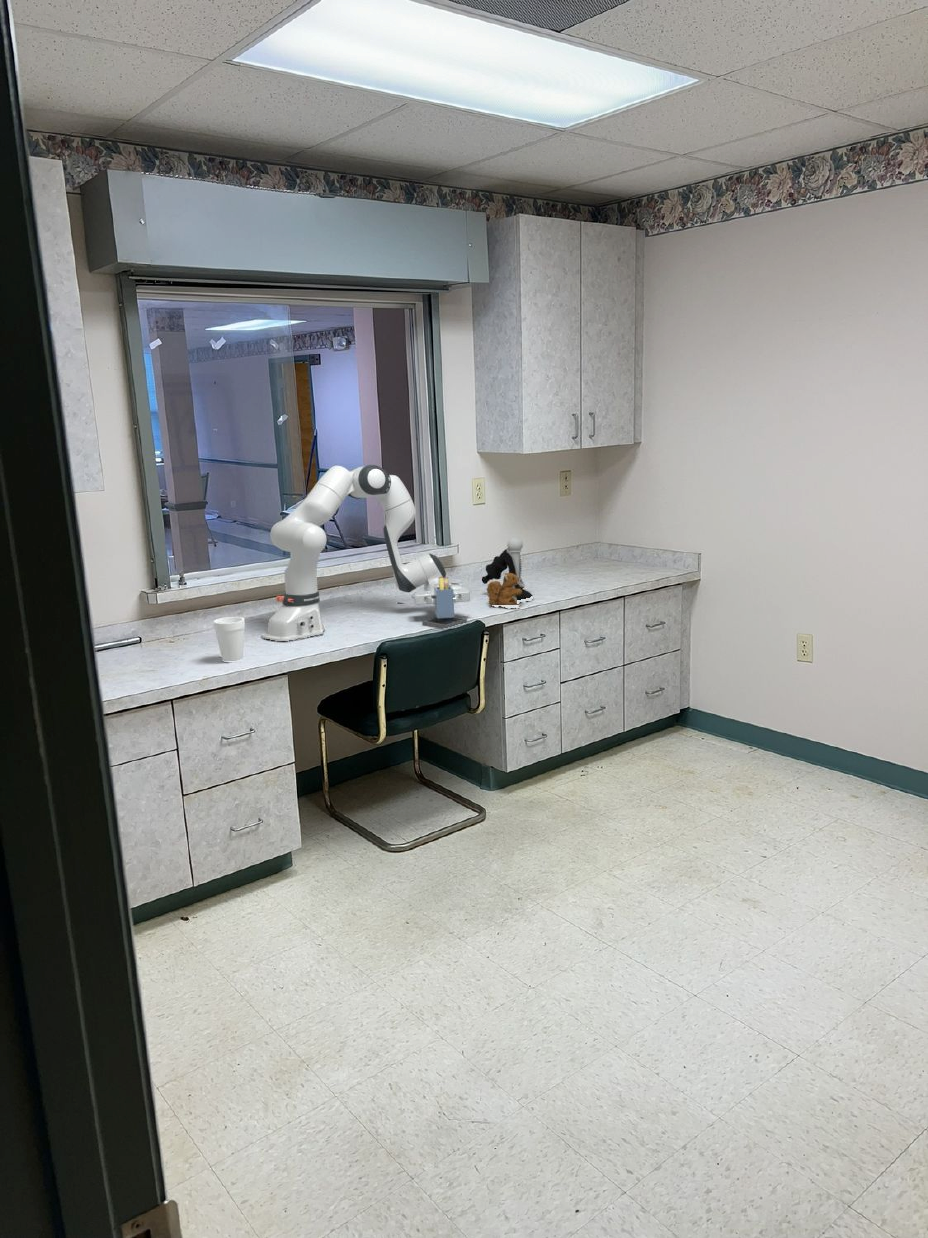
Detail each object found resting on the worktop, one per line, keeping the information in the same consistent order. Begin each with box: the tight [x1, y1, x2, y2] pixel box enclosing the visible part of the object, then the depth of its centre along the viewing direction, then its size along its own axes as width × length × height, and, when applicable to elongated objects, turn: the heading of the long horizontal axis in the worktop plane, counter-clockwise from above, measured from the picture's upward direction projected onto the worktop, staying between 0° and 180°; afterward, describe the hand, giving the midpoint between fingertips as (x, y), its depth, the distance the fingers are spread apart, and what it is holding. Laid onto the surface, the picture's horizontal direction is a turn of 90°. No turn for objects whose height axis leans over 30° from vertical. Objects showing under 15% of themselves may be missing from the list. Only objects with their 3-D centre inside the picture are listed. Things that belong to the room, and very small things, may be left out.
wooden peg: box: [444, 576, 450, 589], centre depth 325 cm, size 2×2×13 cm
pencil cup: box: [434, 586, 455, 618], centre depth 325 cm, size 6×6×10 cm
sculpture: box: [481, 537, 534, 600], centre depth 368 cm, size 15×24×25 cm, turn 51°
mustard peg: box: [439, 578, 444, 590], centre depth 323 cm, size 2×2×13 cm
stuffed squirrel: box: [486, 572, 522, 606], centre depth 354 cm, size 10×14×13 cm
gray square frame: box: [421, 616, 468, 630], centre depth 327 cm, size 11×11×2 cm
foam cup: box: [213, 616, 246, 661], centre depth 289 cm, size 10×9×13 cm
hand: (444, 601), depth 324 cm, fingers closed on pencil cup, 6 cm apart
